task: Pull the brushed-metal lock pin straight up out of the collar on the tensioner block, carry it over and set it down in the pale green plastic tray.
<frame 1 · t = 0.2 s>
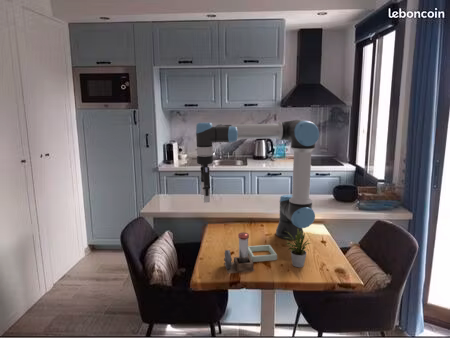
hand: (205, 198, 165), 28 cm above the table, fingers open, 13 cm apart
lock pin: (243, 266, 151), point 1 cm above the table, touching tensioner block
house plant: (296, 263, 157), on the table
tensioner block: (239, 269, 151), on the table
tray: (261, 258, 162), on the table
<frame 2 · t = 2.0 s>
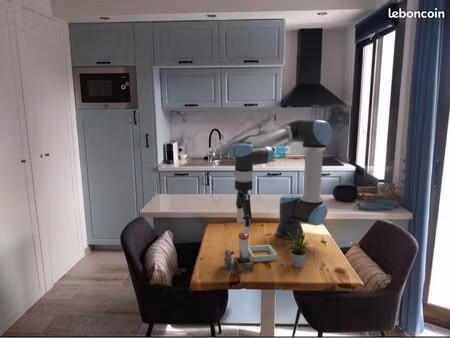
hand: (243, 227, 147), 20 cm above the table, fingers open, 13 cm apart
nothing on the table moved.
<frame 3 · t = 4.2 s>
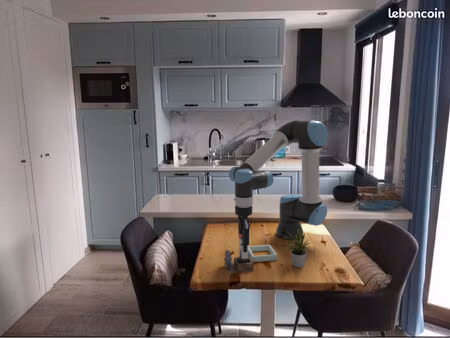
hand: (243, 255, 150), 7 cm above the table, fingers closed on lock pin, 4 cm apart
lock pin: (243, 266, 151), point 1 cm above the table, touching gripper, tensioner block
everything else where it was.
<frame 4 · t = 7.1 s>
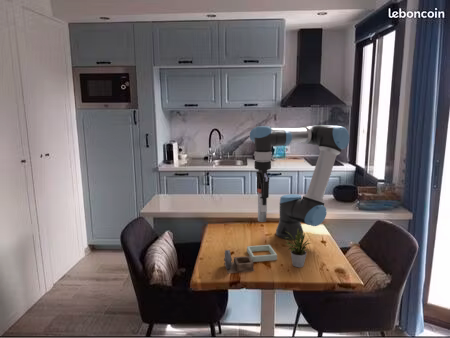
hand: (262, 209, 158), 24 cm above the table, fingers closed on lock pin, 4 cm apart
lock pin: (262, 220, 159), point 19 cm above the table, touching gripper
everything else where it was.
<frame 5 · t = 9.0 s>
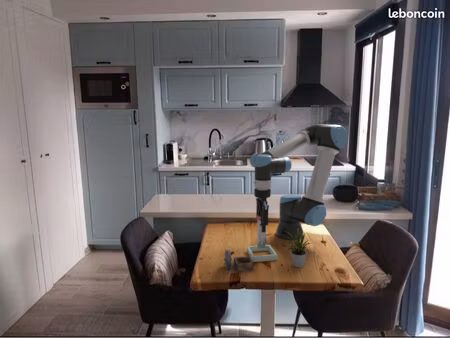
hand: (261, 236, 160), 11 cm above the table, fingers closed on lock pin, 4 cm apart
lock pin: (261, 246, 161), point 6 cm above the table, touching gripper
everything else where it was.
when the fingers open (8 cm above the table, at t = 10.3 s): lock pin stays where it is, resting on tray.
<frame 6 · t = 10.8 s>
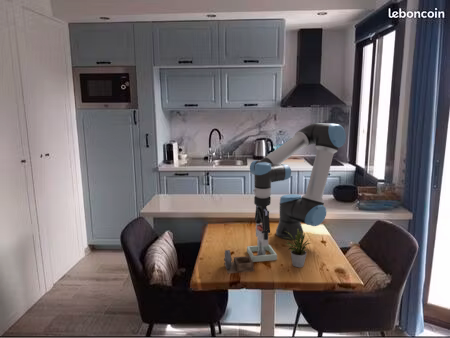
hand: (261, 240, 161), 9 cm above the table, fingers open, 11 cm apart
lock pin: (261, 256, 162), point 1 cm above the table, touching tray
everything else where it was.
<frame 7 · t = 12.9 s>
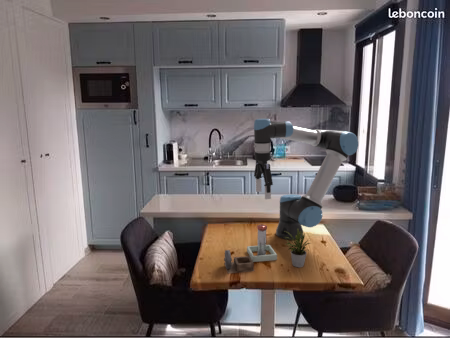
hand: (263, 195, 164), 29 cm above the table, fingers open, 13 cm apart
nothing on the table moved.
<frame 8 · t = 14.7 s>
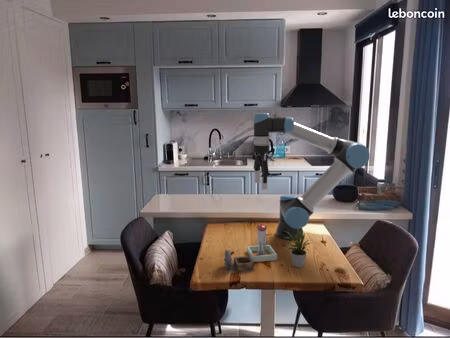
hand: (260, 186, 172), 32 cm above the table, fingers open, 13 cm apart
nothing on the table moved.
at the end: lock pin inside the target area on the tray (0.1 cm from its centre), point 1.0 cm above the tray's base; the gripper is holding nothing; lock pin moved 14.6 cm from its start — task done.
